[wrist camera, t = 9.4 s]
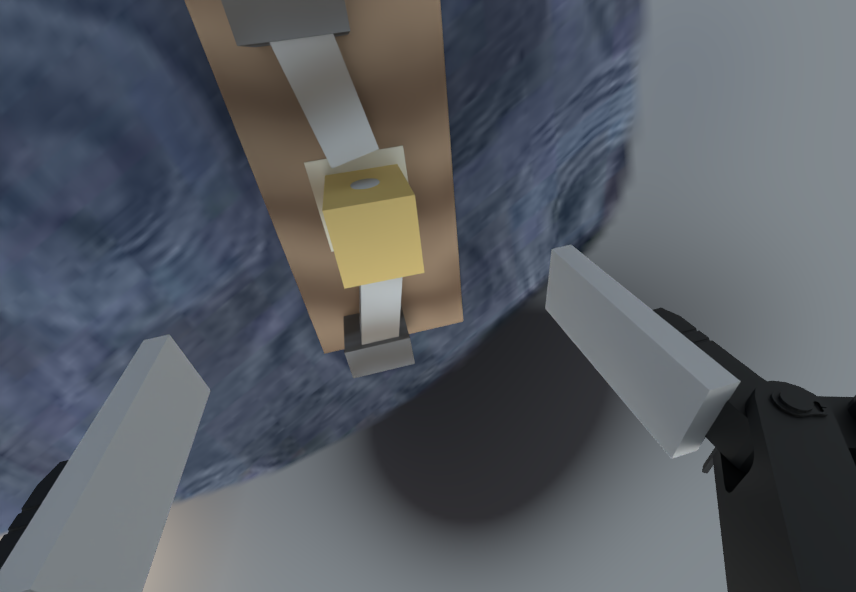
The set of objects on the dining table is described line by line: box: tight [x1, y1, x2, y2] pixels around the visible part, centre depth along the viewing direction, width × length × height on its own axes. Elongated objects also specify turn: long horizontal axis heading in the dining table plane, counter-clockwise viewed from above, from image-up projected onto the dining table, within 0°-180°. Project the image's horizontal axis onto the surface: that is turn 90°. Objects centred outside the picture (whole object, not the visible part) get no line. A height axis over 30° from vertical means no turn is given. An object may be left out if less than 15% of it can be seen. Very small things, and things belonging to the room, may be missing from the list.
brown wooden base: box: [184, 0, 463, 378], centre depth 22 cm, size 24×12×6 cm, turn 7°
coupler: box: [322, 164, 424, 289], centre depth 21 cm, size 5×5×6 cm
